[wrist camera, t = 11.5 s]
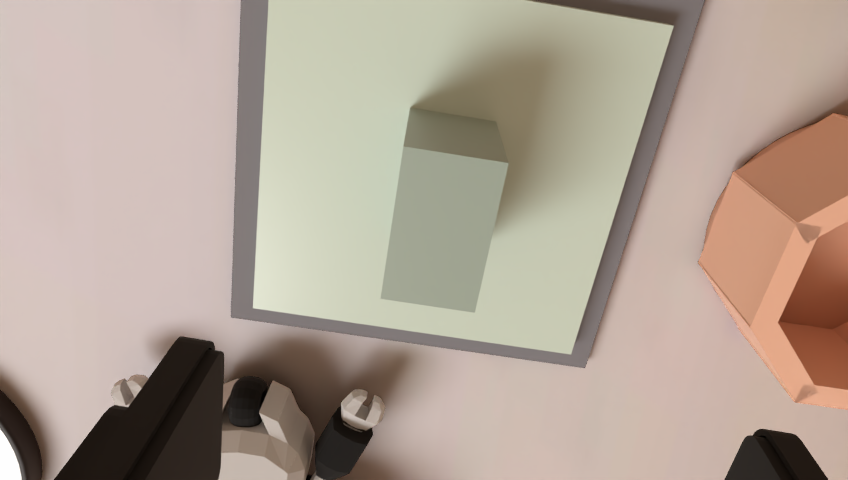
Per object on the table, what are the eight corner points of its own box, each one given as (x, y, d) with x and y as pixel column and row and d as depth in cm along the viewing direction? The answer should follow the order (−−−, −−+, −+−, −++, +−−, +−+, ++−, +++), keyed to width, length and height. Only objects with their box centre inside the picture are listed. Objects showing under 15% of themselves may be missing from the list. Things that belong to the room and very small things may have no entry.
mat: (701, -6, 21) (706, -5, 21) (583, 362, 28) (584, 368, 27) (247, -85, 20) (243, -85, 20) (233, 312, 27) (230, 317, 26)
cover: (667, 23, 21) (731, 47, 17) (568, 346, 27) (595, 431, 22) (275, -45, 21) (227, -39, 16) (256, 300, 26) (217, 378, 21)
